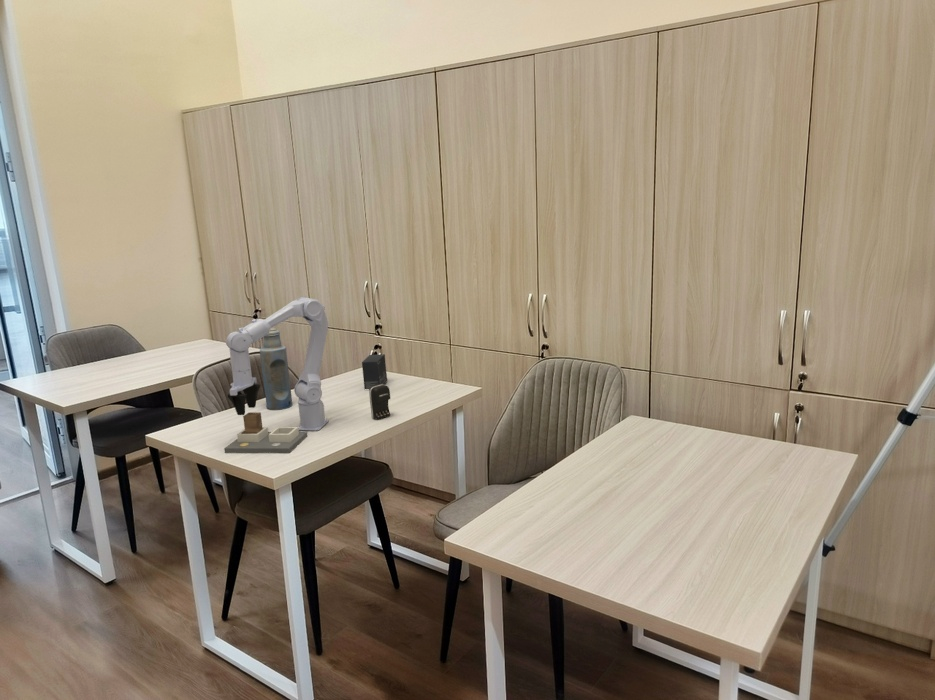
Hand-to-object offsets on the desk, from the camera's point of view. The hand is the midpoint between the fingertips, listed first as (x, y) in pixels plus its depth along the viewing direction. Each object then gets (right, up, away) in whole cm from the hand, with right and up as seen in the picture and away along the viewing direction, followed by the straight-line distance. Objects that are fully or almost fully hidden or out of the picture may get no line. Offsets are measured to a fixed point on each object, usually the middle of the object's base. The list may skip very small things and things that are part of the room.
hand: (246, 411), depth 211 cm
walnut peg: (+2, -9, +1) cm, 9 cm away
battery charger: (+41, -4, +20) cm, 46 cm away
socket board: (+7, -11, -1) cm, 13 cm away
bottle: (-1, -2, +40) cm, 40 cm away
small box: (+33, +4, +63) cm, 71 cm away
